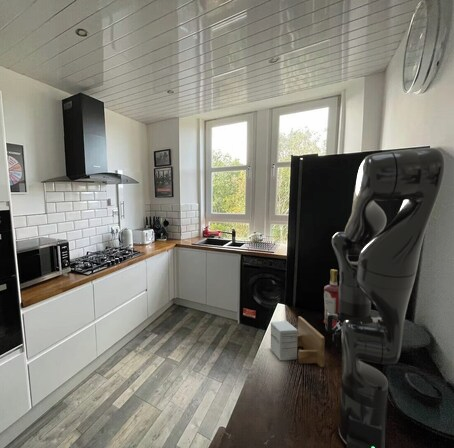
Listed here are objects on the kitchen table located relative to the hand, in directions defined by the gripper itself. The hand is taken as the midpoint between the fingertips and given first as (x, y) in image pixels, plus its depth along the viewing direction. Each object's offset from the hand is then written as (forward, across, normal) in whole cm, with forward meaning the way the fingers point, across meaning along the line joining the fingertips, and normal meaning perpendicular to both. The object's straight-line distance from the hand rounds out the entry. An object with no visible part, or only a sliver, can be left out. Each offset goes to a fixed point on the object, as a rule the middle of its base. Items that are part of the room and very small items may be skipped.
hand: (354, 347), depth 75 cm
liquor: (+20, +4, +48) cm, 53 cm away
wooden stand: (+18, -12, +20) cm, 30 cm away
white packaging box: (+18, -19, +17) cm, 31 cm away
